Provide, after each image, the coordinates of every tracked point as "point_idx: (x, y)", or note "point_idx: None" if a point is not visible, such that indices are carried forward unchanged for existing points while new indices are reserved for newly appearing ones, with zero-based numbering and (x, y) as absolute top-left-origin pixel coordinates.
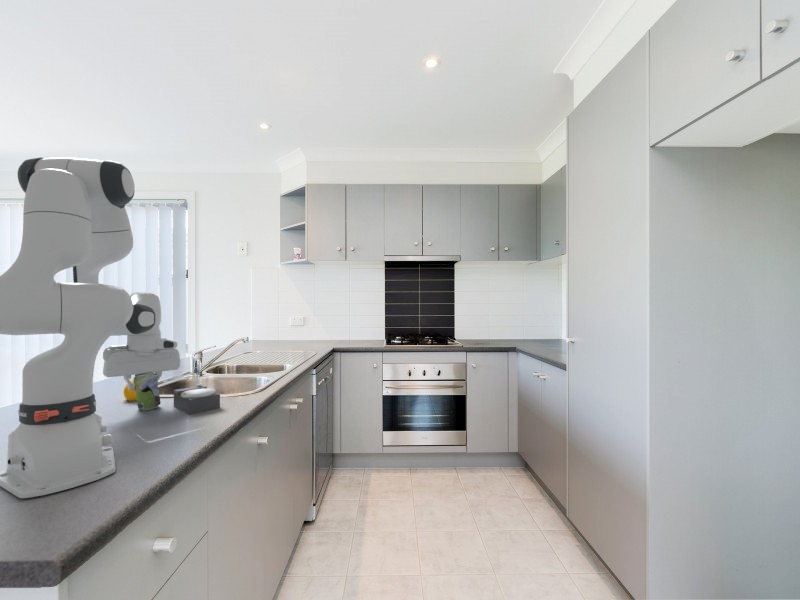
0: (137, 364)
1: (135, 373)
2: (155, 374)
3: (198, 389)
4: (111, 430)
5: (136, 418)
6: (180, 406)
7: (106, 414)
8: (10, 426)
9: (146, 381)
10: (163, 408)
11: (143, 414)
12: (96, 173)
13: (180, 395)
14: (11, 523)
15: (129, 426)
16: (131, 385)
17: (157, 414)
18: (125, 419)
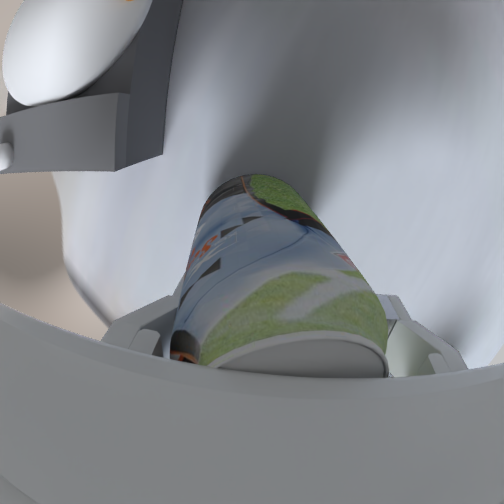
0: (450, 491)
1: (430, 380)
2: (177, 344)
3: (29, 85)
4: (475, 50)
5: (374, 103)
6: (164, 56)
7: (391, 293)
8: (495, 351)
9: (321, 256)
10: (205, 173)
11: (322, 143)
12: None
13: (130, 54)
14: None
15: (430, 26)
16: (397, 311)
17: (281, 77)
18: (405, 136)
